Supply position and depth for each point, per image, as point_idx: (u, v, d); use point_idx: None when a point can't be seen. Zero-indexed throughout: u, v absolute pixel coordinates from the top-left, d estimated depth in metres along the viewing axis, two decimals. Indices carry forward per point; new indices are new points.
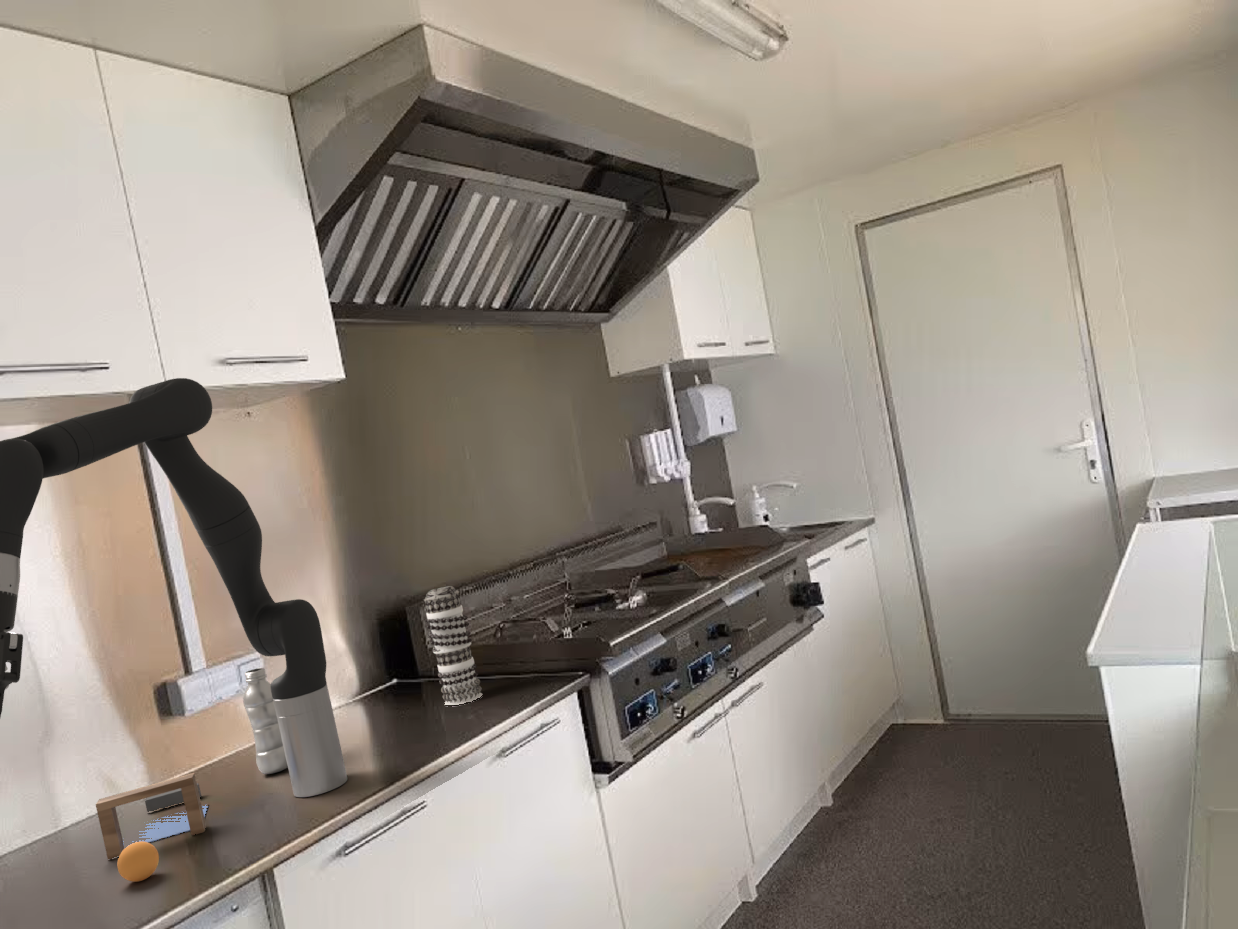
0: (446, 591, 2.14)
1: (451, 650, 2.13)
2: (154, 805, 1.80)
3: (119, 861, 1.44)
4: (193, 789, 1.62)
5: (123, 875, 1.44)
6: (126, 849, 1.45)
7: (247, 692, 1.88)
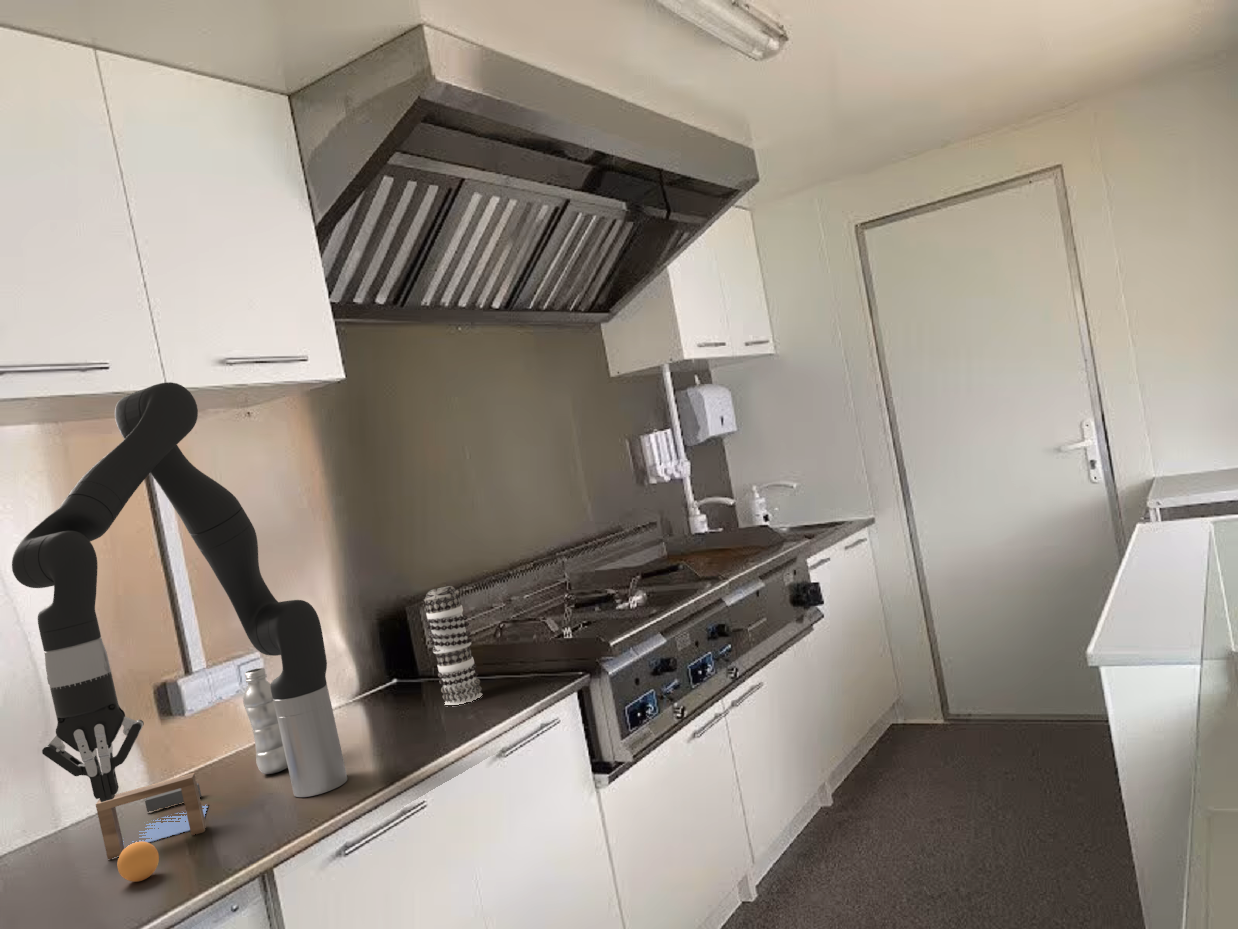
0: (446, 591, 2.14)
1: (451, 650, 2.13)
2: (154, 805, 1.80)
3: (119, 861, 1.44)
4: (193, 789, 1.62)
5: (123, 875, 1.44)
6: (126, 849, 1.45)
7: (247, 692, 1.88)
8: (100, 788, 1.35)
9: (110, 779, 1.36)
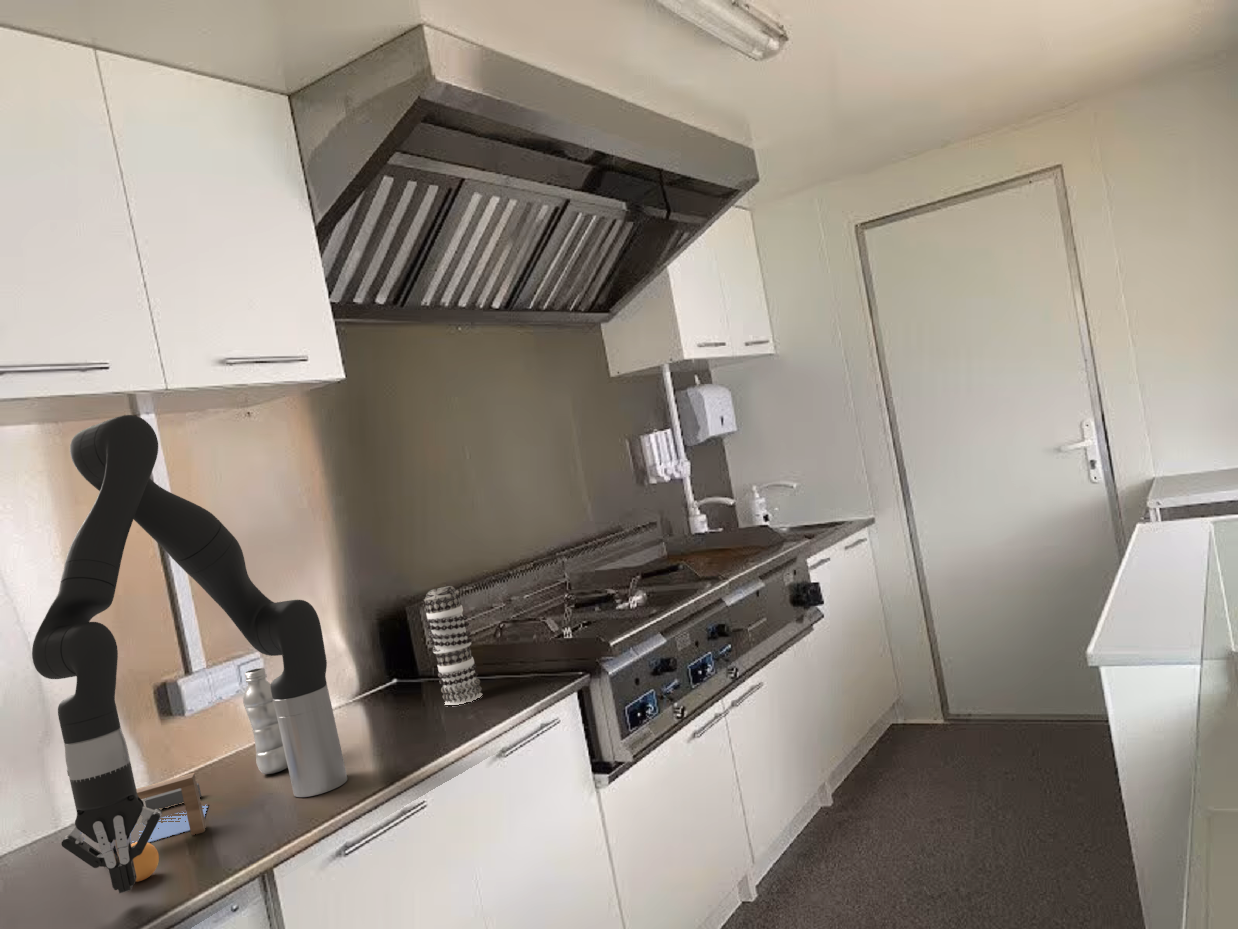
0: (446, 591, 2.14)
1: (451, 650, 2.13)
2: (154, 805, 1.80)
3: None
4: (193, 789, 1.62)
5: None
6: None
7: (247, 692, 1.88)
8: (119, 879, 1.36)
9: (128, 870, 1.36)
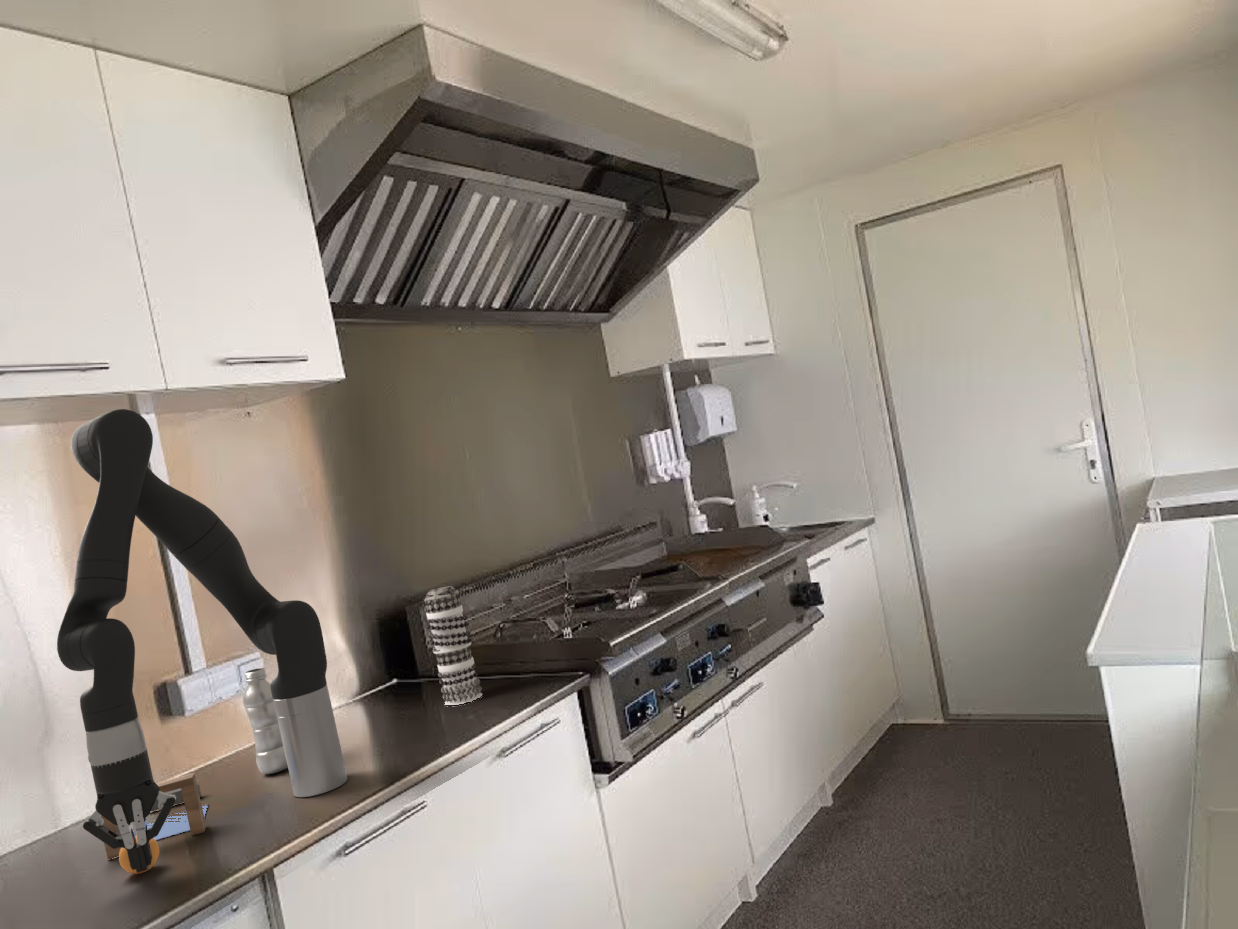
0: (446, 591, 2.14)
1: (451, 650, 2.13)
2: (154, 805, 1.80)
3: (120, 849, 1.48)
4: (193, 789, 1.62)
5: (122, 858, 1.47)
6: None
7: (247, 692, 1.88)
8: (136, 859, 1.45)
9: (145, 851, 1.45)
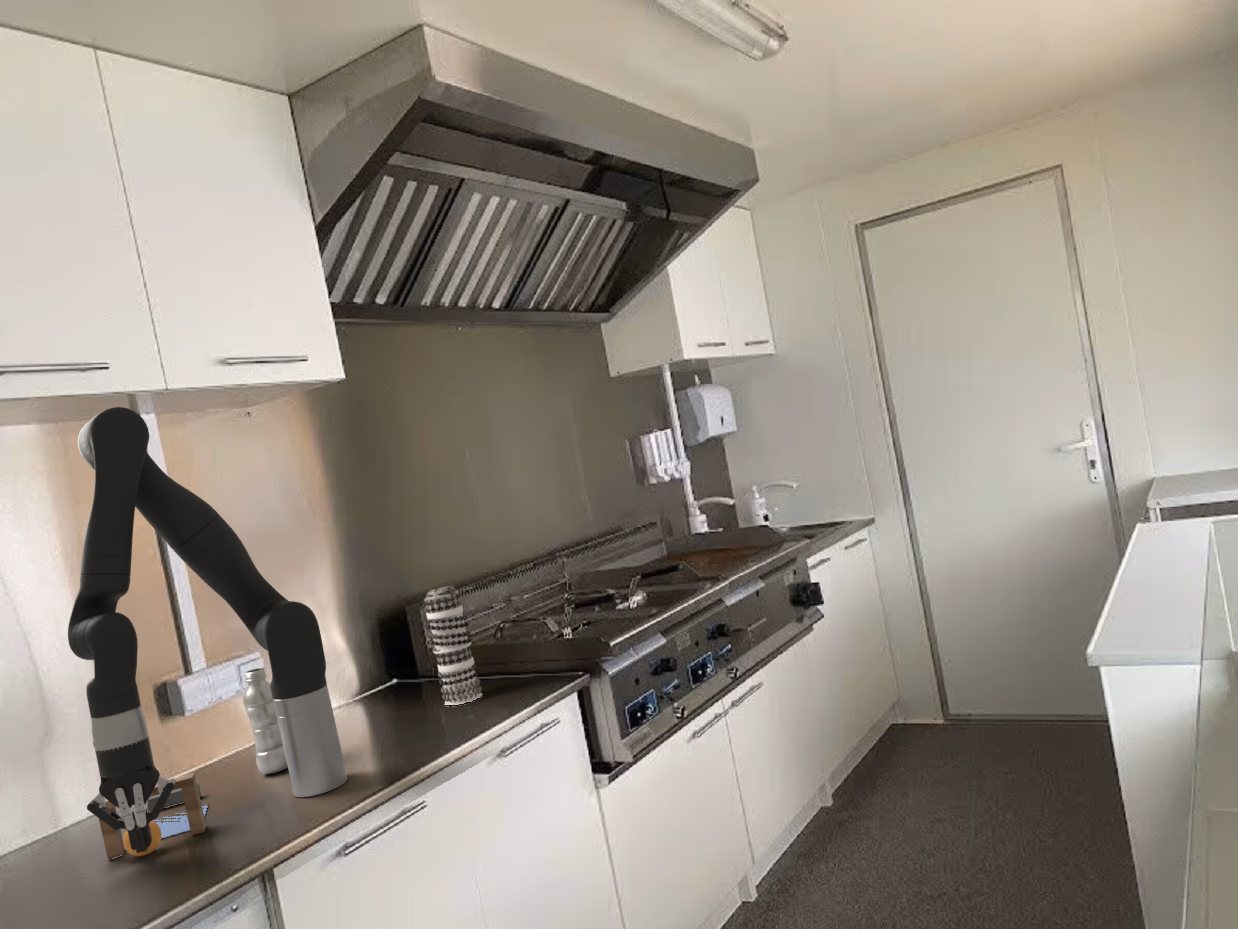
0: (446, 591, 2.14)
1: (451, 650, 2.13)
2: (154, 805, 1.80)
3: None
4: (193, 789, 1.62)
5: None
6: None
7: (247, 692, 1.88)
8: (136, 840, 1.53)
9: (145, 832, 1.53)
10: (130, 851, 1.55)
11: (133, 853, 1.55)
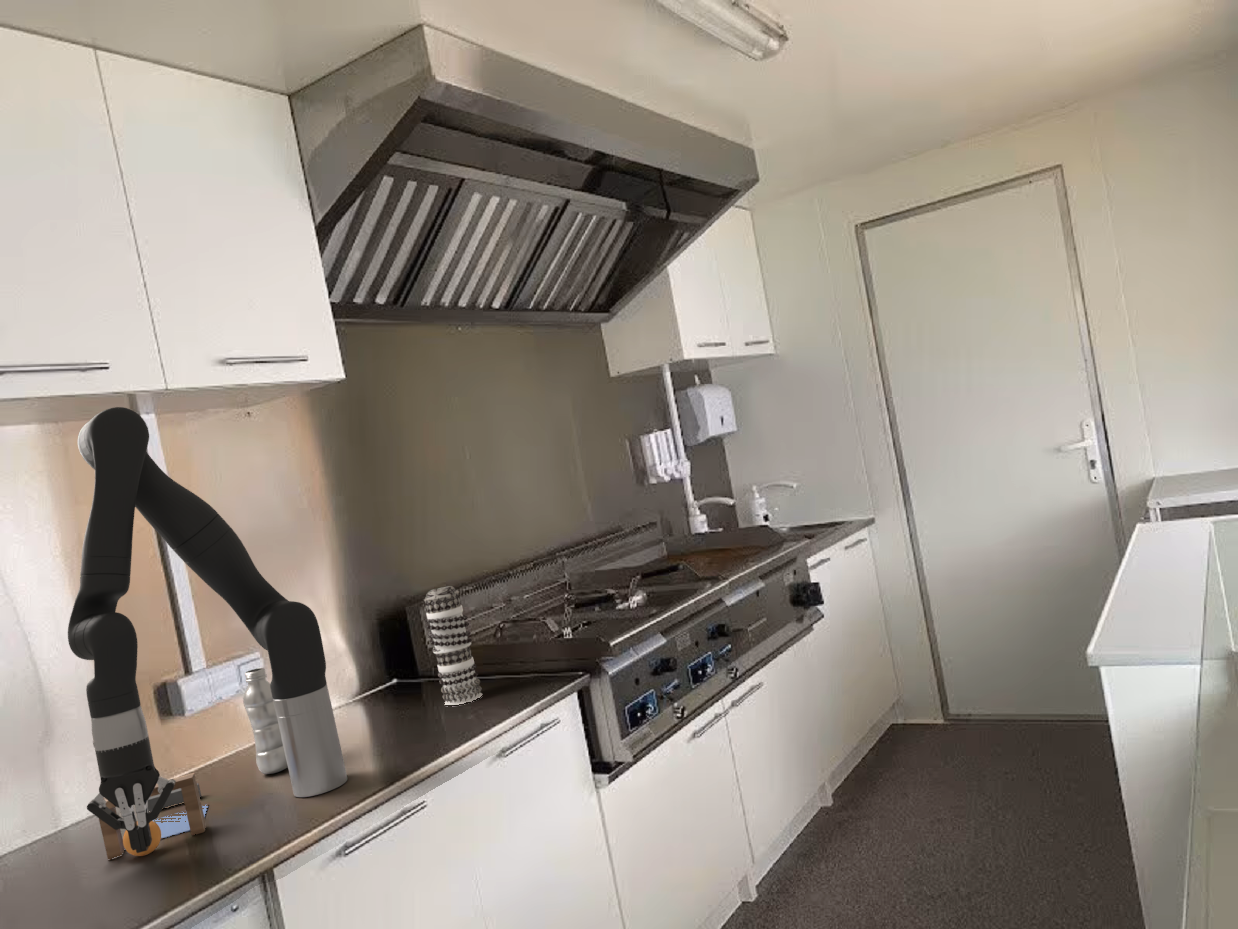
0: (446, 591, 2.14)
1: (451, 650, 2.13)
2: (154, 805, 1.80)
3: None
4: (193, 789, 1.62)
5: None
6: None
7: (247, 692, 1.88)
8: (136, 840, 1.53)
9: (145, 832, 1.53)
10: (130, 851, 1.55)
11: (133, 853, 1.55)
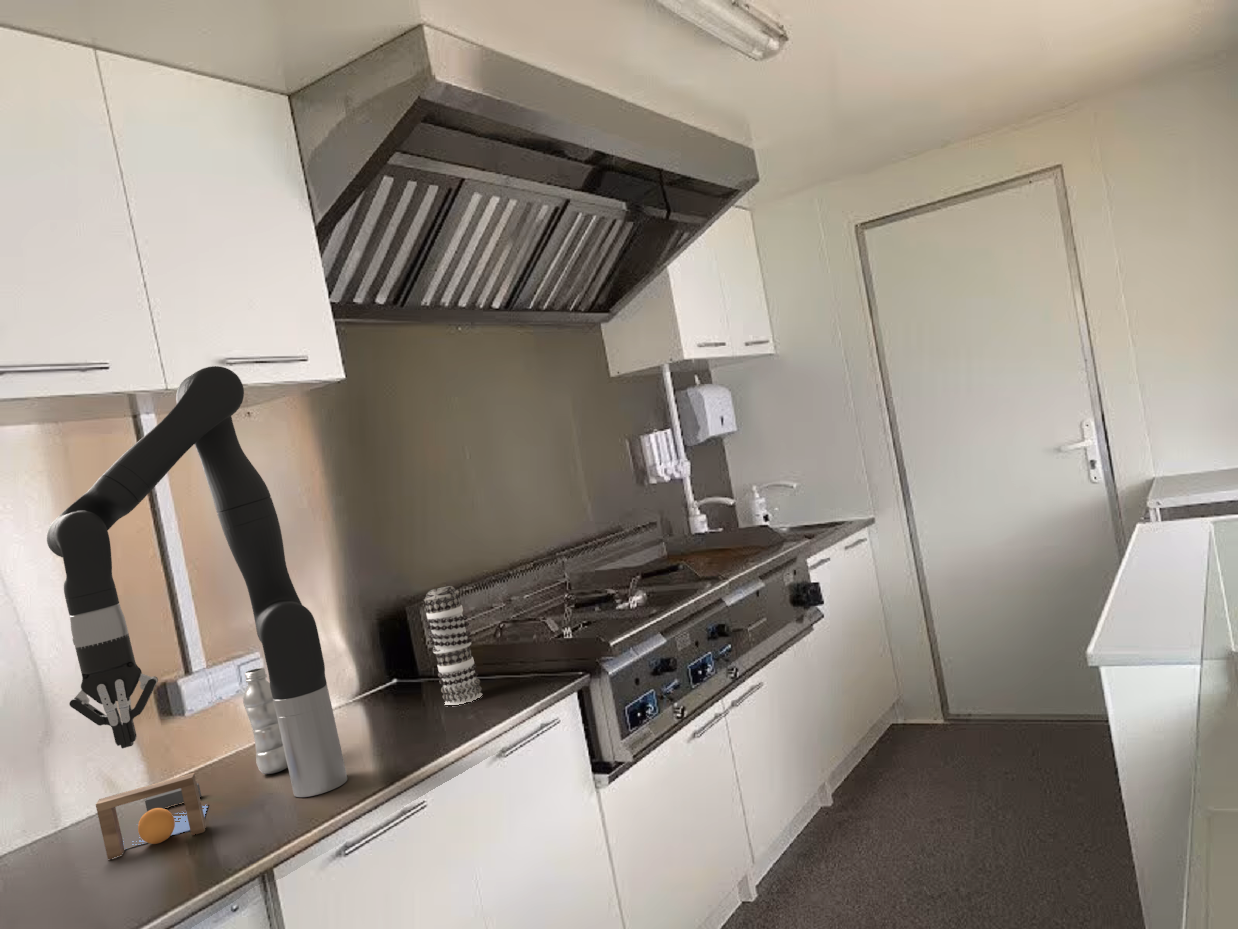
0: (446, 591, 2.14)
1: (451, 650, 2.13)
2: (154, 805, 1.80)
3: None
4: (193, 789, 1.62)
5: None
6: None
7: (247, 692, 1.88)
8: (121, 736, 1.53)
9: (129, 728, 1.54)
10: (145, 814, 1.61)
11: (145, 815, 1.61)
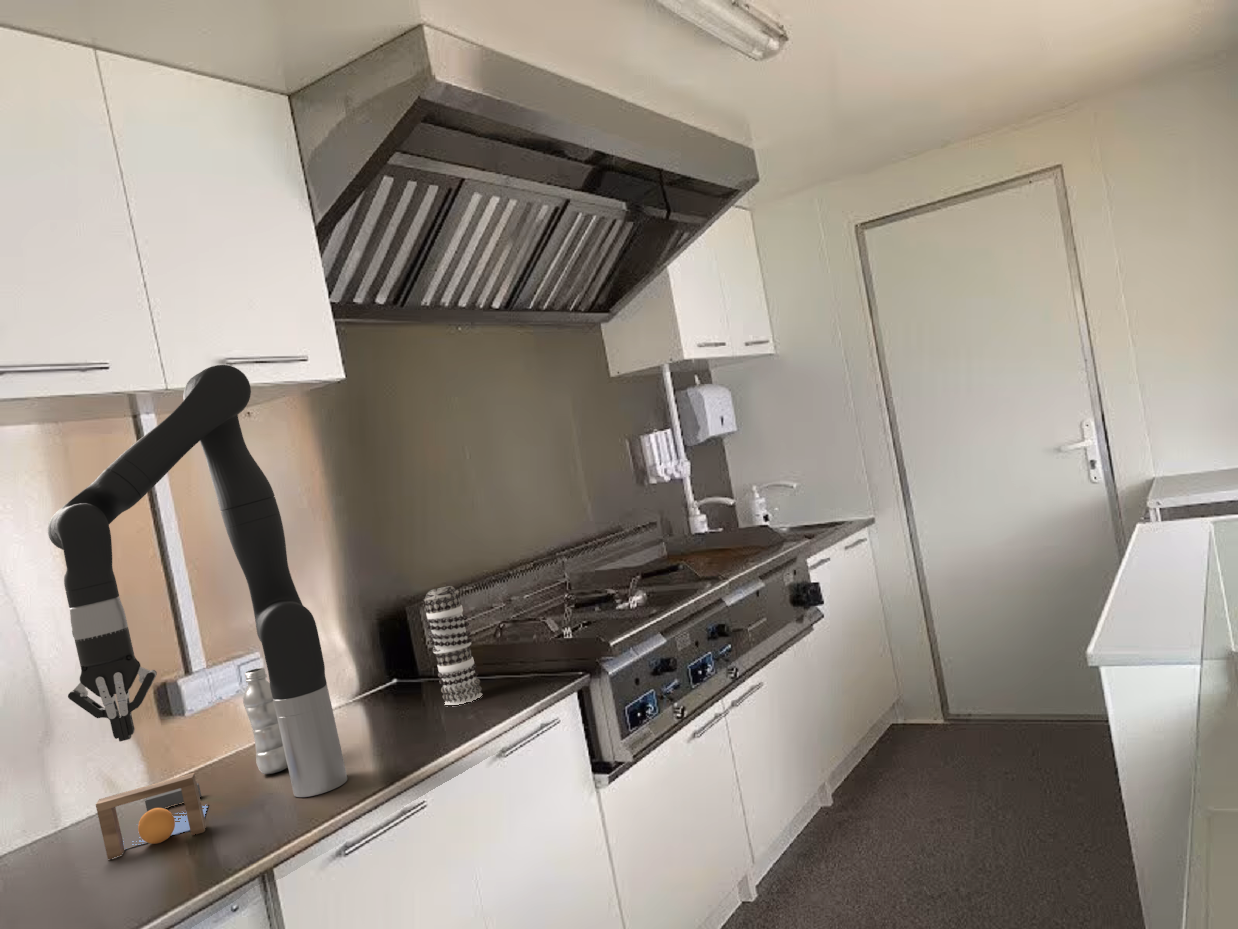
0: (446, 591, 2.14)
1: (451, 650, 2.13)
2: (154, 805, 1.80)
3: None
4: (193, 789, 1.62)
5: None
6: None
7: (247, 692, 1.88)
8: (119, 729, 1.53)
9: (127, 721, 1.54)
10: (145, 814, 1.61)
11: (146, 815, 1.61)
